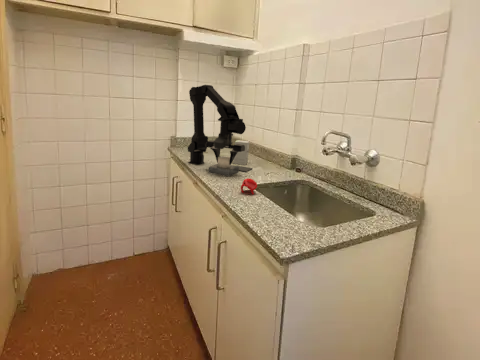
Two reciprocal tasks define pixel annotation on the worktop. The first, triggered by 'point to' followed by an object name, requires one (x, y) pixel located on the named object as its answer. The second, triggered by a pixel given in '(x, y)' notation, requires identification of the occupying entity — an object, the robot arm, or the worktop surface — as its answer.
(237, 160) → the supplement box
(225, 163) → the end cover
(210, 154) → the worktop surface
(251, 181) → the red plastic curved piece
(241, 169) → the rubber mat
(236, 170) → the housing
